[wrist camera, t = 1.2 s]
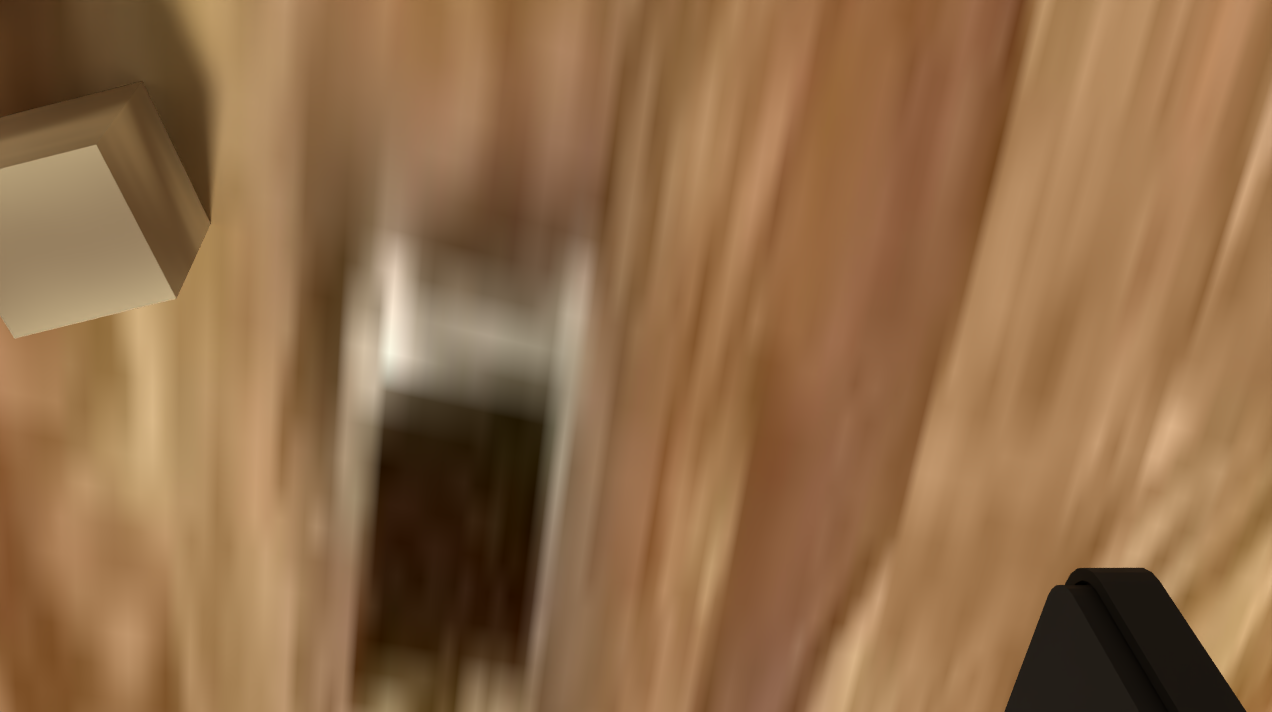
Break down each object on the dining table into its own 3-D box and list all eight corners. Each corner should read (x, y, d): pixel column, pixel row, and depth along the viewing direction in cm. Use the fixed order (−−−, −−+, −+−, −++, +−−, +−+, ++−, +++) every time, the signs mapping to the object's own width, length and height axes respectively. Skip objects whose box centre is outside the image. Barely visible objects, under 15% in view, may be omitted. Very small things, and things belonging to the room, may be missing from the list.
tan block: (-12, 119, 29) (-79, 189, 26) (143, 79, 29) (95, 144, 25) (66, 258, 31) (14, 338, 28) (211, 222, 31) (176, 298, 28)
